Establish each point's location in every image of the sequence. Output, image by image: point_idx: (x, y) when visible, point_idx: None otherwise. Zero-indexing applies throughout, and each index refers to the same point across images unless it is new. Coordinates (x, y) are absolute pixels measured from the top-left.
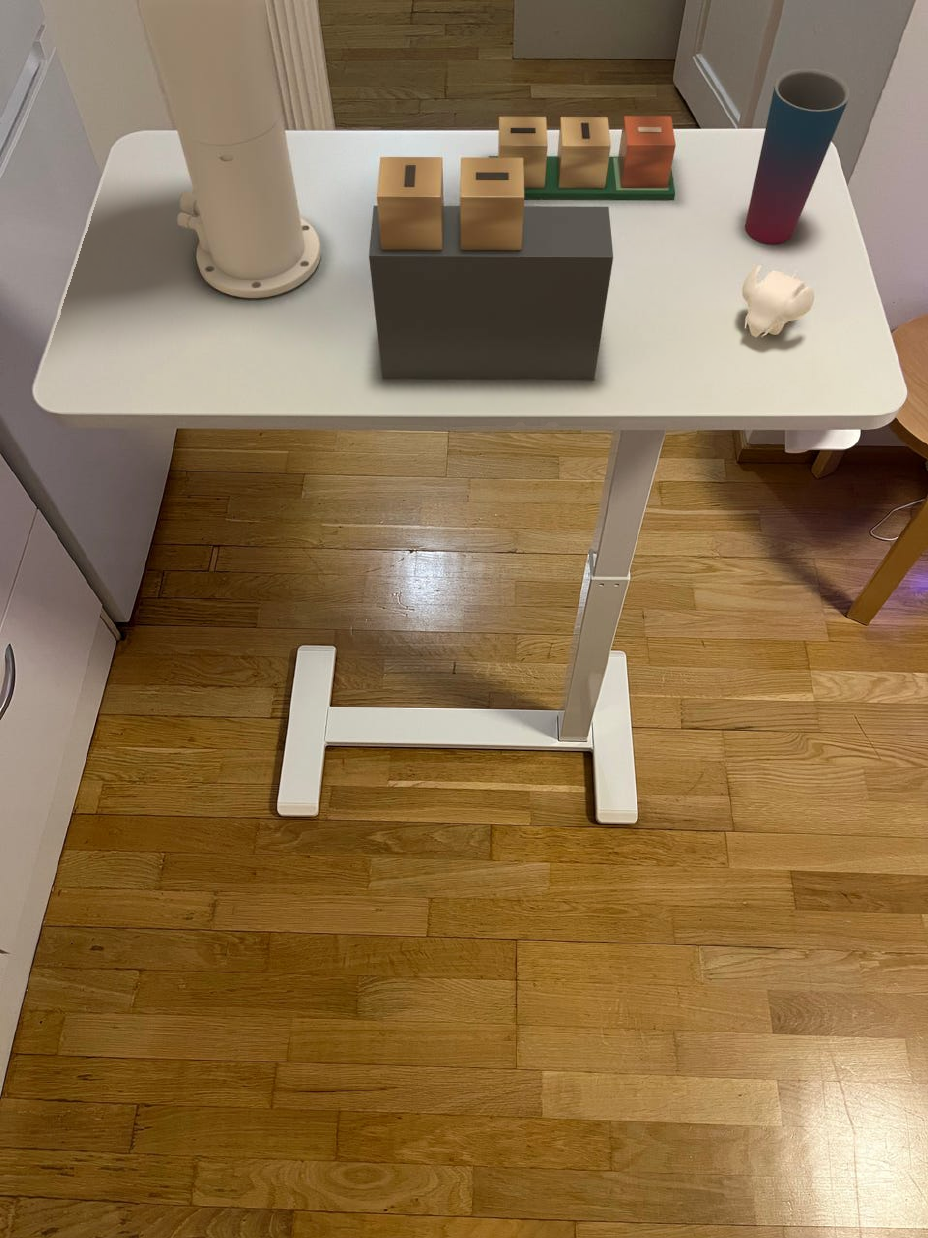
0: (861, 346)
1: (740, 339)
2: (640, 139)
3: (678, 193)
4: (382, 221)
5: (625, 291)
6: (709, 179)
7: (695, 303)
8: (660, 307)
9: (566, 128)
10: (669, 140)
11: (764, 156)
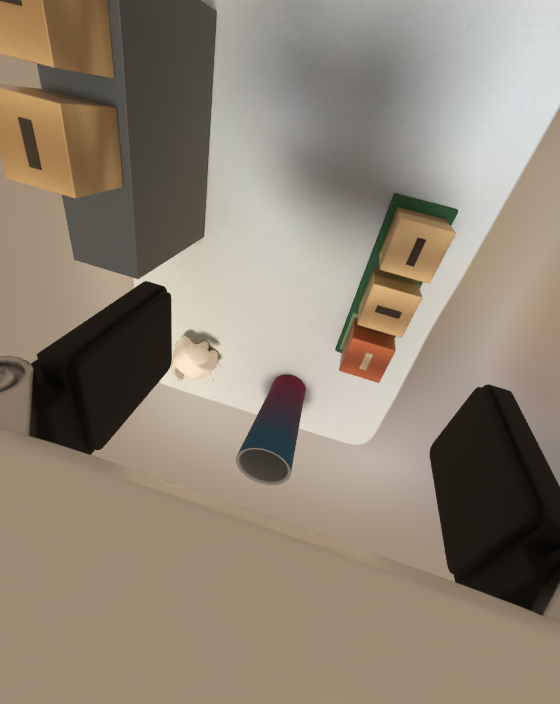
0: (186, 383)
1: (193, 329)
2: (355, 349)
3: None
4: None
5: (243, 277)
6: (351, 377)
7: (226, 318)
8: (225, 295)
9: (400, 296)
10: (346, 368)
11: (273, 412)
